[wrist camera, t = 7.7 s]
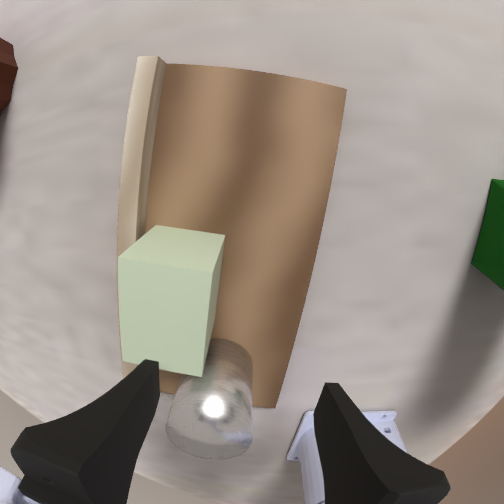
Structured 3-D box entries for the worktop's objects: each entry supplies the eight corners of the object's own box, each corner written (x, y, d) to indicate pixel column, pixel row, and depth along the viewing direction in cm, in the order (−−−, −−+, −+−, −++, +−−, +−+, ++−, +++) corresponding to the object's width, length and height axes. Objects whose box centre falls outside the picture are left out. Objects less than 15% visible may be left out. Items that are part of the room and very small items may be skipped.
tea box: (225, 235, 19) (212, 272, 14) (214, 319, 21) (201, 377, 16) (153, 224, 19) (115, 256, 13) (150, 308, 21) (120, 360, 15)
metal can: (258, 343, 22) (258, 416, 15) (247, 392, 23) (245, 463, 17) (187, 332, 22) (164, 401, 15) (185, 383, 23) (166, 451, 17)
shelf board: (341, 92, 17) (355, 83, 15) (274, 398, 25) (276, 423, 22) (152, 67, 17) (136, 56, 14) (135, 375, 25) (125, 398, 22)
